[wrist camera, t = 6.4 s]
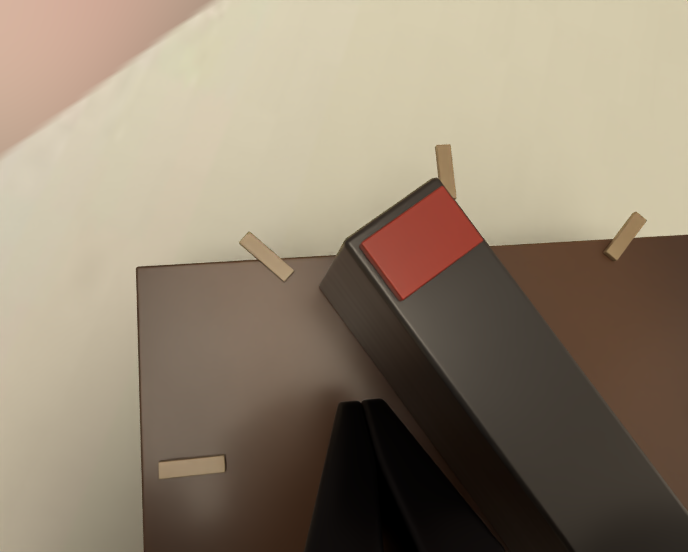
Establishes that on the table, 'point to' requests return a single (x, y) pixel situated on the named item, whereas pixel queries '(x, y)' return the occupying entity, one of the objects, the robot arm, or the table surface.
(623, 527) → the upright dark panel
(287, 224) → the table surface
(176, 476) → the dial console
